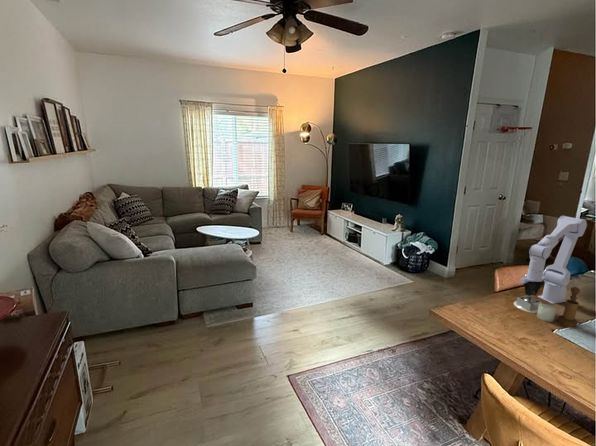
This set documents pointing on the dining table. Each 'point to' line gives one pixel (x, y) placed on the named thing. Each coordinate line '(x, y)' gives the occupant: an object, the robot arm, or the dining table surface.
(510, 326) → the dining table surface
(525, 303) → the grey faceted box
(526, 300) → the plunger
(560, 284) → the robot arm
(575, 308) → the mortar and pestle
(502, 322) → the dining table surface
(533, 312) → the trivet
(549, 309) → the pale green rounded block
